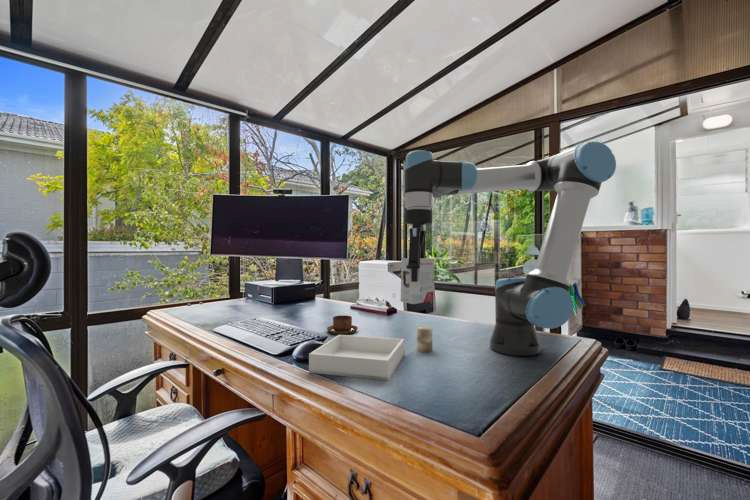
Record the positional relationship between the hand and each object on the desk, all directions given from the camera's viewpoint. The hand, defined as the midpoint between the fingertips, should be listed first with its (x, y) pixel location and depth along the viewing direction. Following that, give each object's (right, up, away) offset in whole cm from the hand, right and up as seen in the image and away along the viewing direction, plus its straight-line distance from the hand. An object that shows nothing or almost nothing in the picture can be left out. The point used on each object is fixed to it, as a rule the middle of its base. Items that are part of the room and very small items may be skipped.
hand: (417, 292), depth 96 cm
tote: (-16, -21, +5) cm, 27 cm away
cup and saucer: (-24, -21, +43) cm, 54 cm away
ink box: (0, -3, 0) cm, 3 cm away
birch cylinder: (+5, -21, +18) cm, 28 cm away
